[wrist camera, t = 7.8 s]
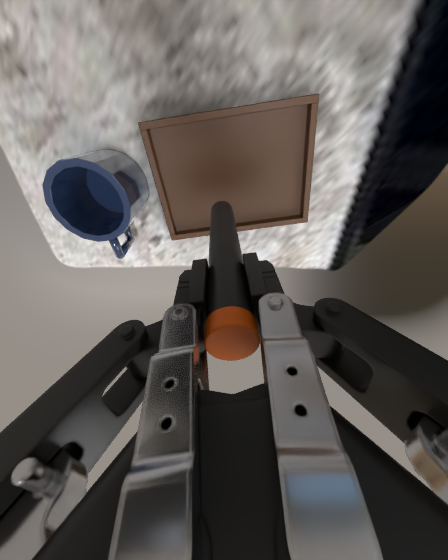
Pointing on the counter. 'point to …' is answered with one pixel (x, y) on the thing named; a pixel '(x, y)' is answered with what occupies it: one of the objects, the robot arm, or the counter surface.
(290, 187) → the tray
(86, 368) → the robot arm
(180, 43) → the counter surface
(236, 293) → the marker
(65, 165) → the mug
